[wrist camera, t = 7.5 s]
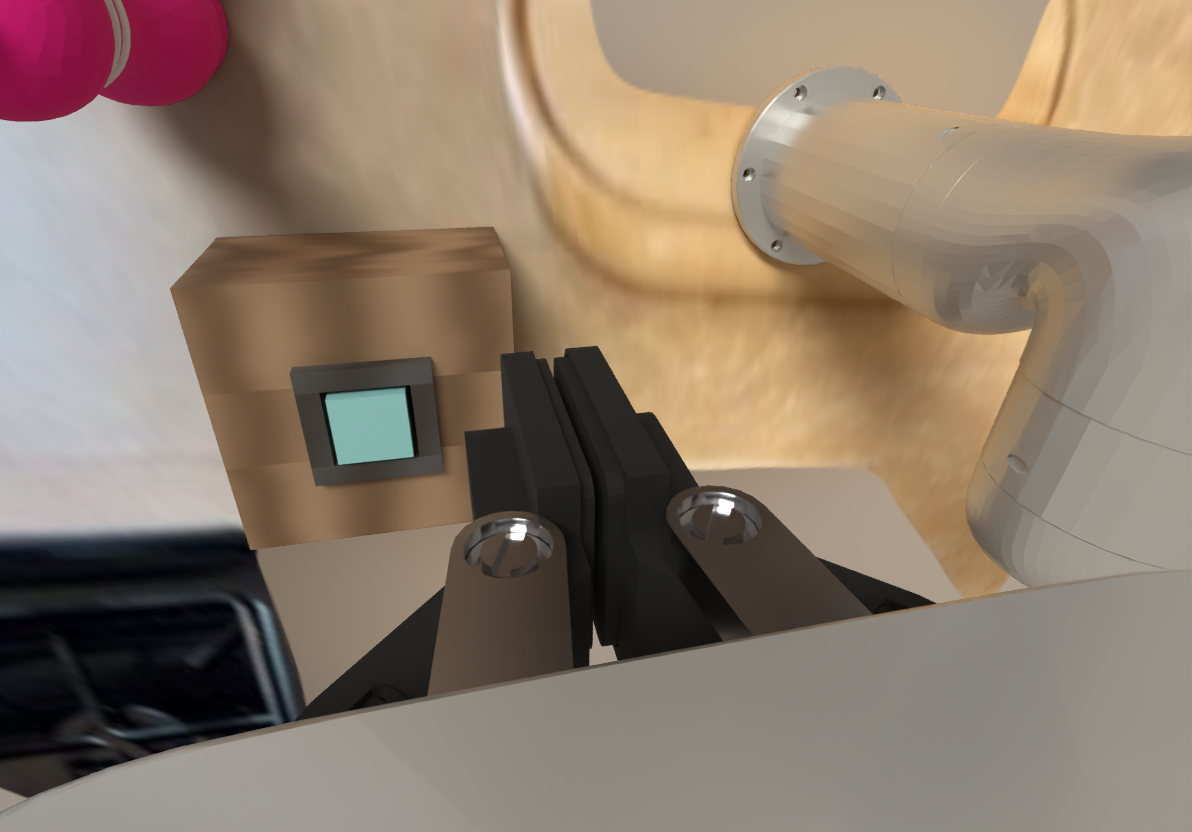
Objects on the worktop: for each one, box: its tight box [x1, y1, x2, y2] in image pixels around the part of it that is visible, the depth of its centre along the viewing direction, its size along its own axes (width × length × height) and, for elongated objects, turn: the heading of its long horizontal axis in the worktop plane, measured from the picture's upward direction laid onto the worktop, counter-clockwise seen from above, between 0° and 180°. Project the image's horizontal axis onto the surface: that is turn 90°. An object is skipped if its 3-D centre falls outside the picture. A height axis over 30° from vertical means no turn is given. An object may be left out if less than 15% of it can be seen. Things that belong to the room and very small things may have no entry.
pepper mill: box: [0, 0, 228, 121], centre depth 25 cm, size 7×7×20 cm
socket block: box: [170, 227, 514, 550], centre depth 41 cm, size 16×16×10 cm
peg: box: [325, 385, 414, 465], centre depth 40 cm, size 4×4×10 cm
